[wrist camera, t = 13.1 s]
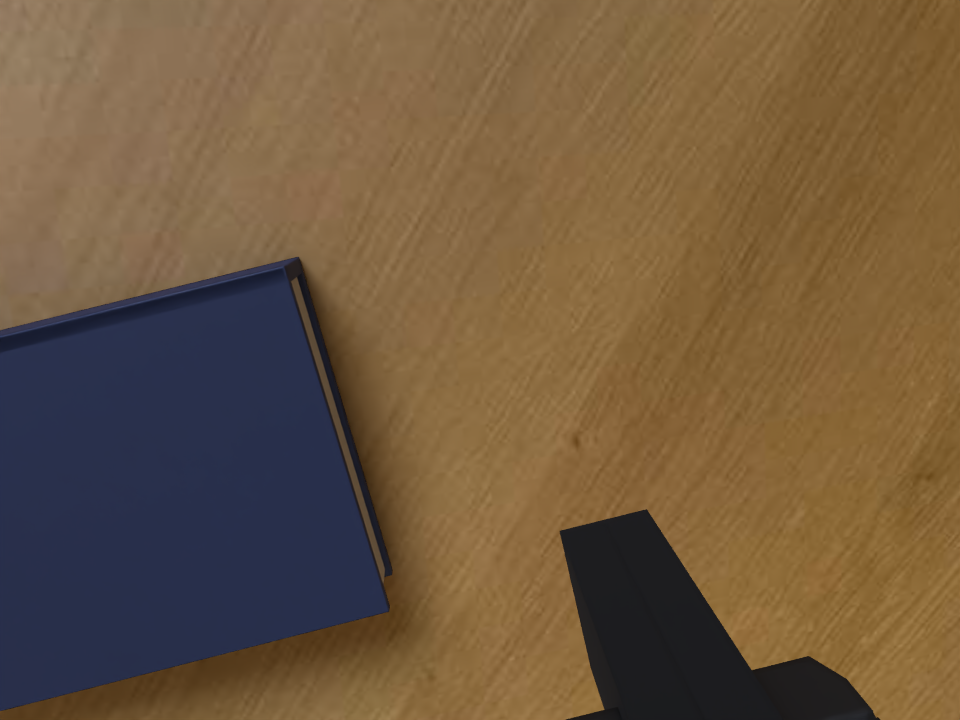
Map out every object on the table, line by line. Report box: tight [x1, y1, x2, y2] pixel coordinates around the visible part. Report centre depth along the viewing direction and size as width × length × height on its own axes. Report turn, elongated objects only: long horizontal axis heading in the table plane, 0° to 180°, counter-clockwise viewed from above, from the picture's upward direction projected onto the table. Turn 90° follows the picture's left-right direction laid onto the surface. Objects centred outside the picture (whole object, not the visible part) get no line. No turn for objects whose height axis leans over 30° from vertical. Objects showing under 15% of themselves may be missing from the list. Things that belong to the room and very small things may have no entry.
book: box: [0, 257, 392, 711], centre depth 27 cm, size 24×13×3 cm, turn 104°
